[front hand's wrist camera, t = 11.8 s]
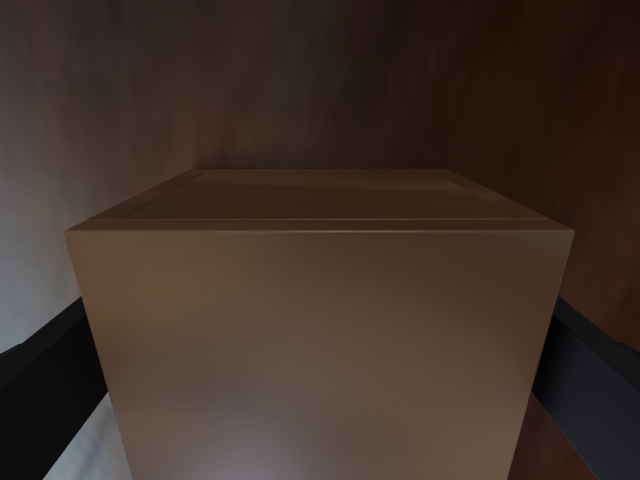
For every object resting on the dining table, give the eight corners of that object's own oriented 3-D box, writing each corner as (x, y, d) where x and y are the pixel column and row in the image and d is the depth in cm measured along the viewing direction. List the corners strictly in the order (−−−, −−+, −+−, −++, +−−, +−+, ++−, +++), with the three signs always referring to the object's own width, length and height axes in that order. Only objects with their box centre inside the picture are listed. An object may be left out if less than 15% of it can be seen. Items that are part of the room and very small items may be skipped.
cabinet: (408, 478, 22) (454, 673, 14) (232, 478, 22) (186, 672, 14) (448, 168, 15) (577, 230, 7) (191, 168, 15) (61, 231, 7)
